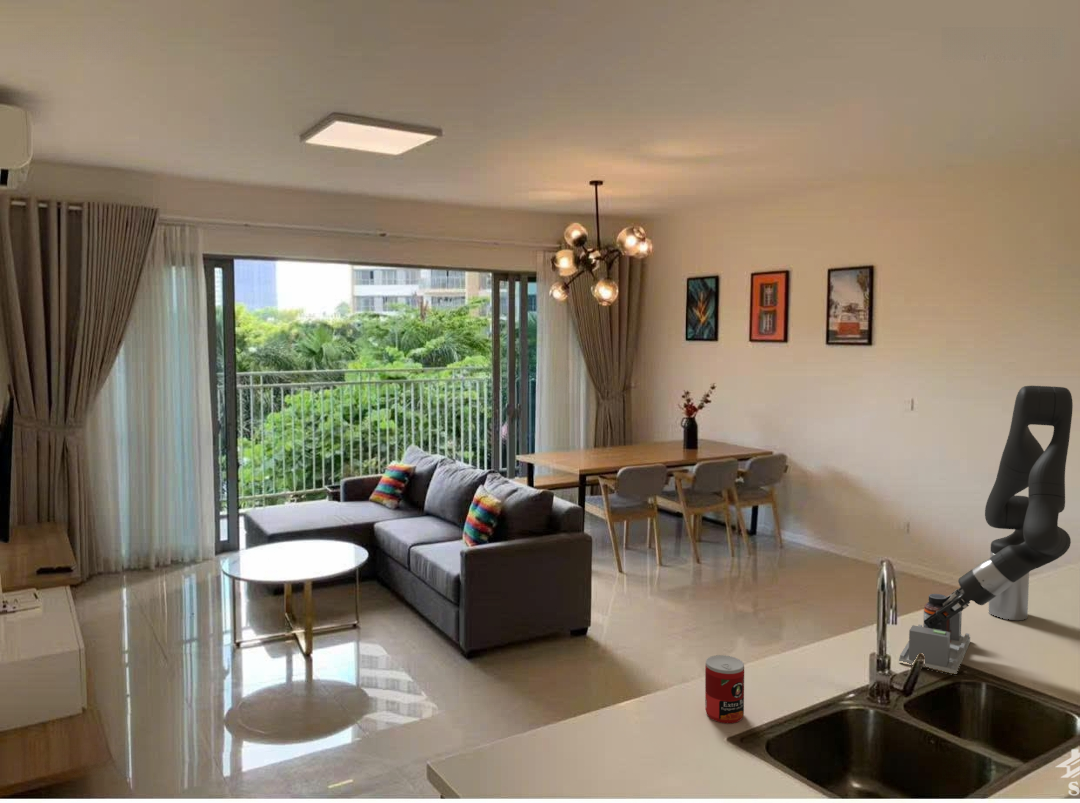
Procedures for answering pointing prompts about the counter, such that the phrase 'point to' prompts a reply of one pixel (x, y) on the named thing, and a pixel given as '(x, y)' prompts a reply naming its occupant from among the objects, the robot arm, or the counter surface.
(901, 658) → the board
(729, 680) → the canned food
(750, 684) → the counter surface
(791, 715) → the counter surface
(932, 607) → the supplement bottle
